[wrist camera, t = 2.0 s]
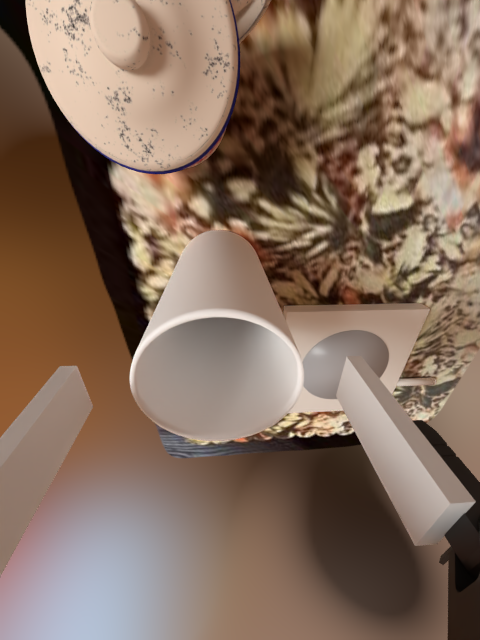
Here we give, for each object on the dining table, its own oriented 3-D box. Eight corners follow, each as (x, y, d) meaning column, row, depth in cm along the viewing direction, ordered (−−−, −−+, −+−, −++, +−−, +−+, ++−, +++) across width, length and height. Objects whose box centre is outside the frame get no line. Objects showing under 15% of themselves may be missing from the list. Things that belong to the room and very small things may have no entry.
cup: (269, 239, 24) (332, 328, 11) (249, 312, 28) (277, 446, 15) (183, 221, 23) (127, 296, 9) (175, 301, 27) (128, 436, 13)
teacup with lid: (164, 195, 22) (117, 217, 12) (78, 73, 18) (-107, -52, 8) (287, 102, 19) (359, 28, 9) (220, -68, 15) (219, -538, 5)
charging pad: (284, 305, 28) (287, 312, 27) (473, 302, 30) (486, 308, 28) (272, 405, 36) (274, 414, 35) (422, 398, 38) (430, 407, 36)
